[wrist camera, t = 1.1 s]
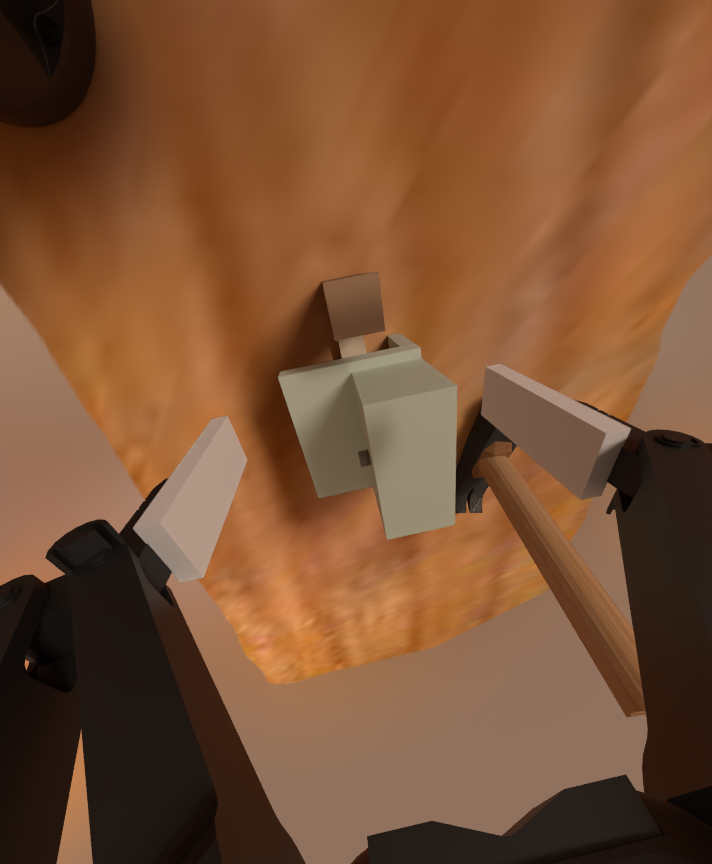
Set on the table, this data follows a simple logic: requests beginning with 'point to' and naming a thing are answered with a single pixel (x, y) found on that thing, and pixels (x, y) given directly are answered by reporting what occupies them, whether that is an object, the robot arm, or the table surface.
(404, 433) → the plinth shelf
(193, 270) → the table surface
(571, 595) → the hammer
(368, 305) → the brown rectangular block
